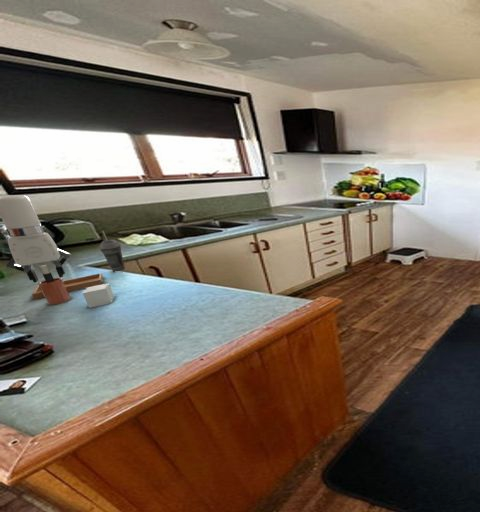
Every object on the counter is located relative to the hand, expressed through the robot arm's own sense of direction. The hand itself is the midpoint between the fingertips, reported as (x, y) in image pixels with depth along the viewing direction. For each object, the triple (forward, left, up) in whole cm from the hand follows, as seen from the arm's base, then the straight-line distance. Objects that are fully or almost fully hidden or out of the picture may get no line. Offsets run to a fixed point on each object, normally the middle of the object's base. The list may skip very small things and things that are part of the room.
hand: (49, 278), depth 101 cm
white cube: (+12, -14, -10) cm, 21 cm away
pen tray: (+2, +15, -10) cm, 18 cm away
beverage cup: (+17, +28, -10) cm, 34 cm away
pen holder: (0, 0, -10) cm, 10 cm away
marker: (0, 0, -9) cm, 9 cm away
